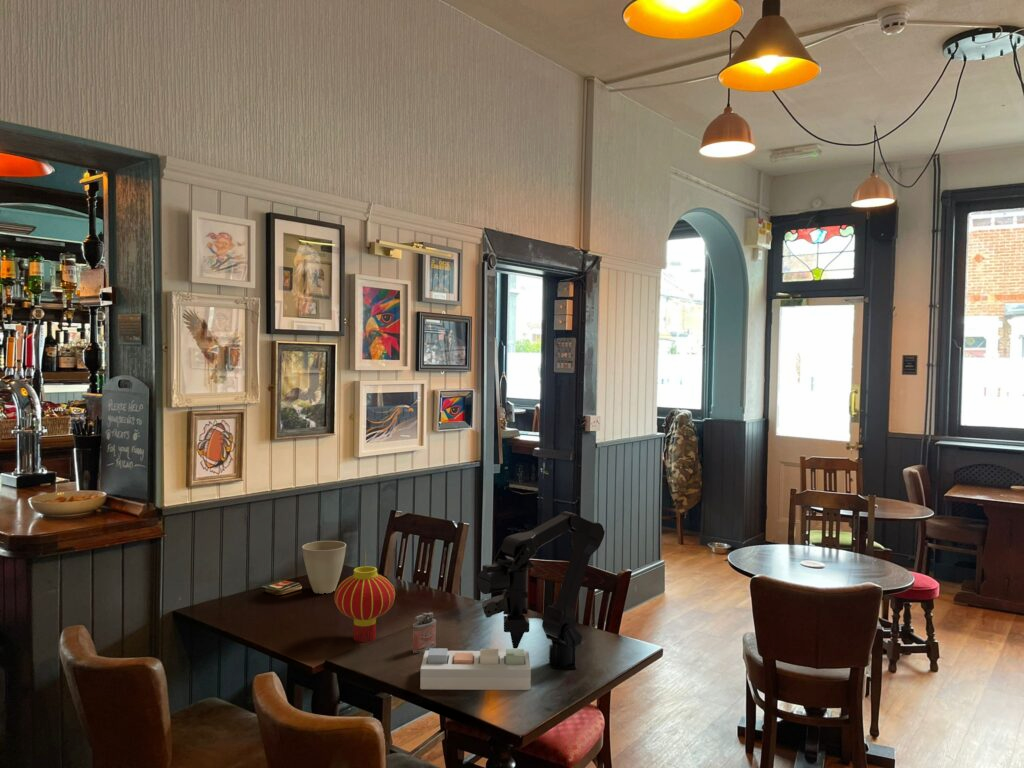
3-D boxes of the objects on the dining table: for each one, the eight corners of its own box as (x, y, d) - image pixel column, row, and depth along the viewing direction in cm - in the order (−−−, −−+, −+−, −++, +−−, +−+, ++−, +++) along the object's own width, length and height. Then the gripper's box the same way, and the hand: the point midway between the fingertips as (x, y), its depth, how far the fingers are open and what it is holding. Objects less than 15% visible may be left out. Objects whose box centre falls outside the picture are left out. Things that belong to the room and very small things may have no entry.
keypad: (528, 670, 197) (528, 651, 197) (530, 690, 185) (530, 669, 185) (424, 669, 197) (425, 650, 197) (420, 689, 185) (420, 669, 185)
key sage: (523, 658, 193) (523, 649, 193) (524, 665, 189) (524, 655, 189) (505, 658, 193) (505, 648, 193) (505, 665, 189) (506, 655, 189)
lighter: (430, 643, 215) (430, 608, 215) (438, 646, 213) (439, 611, 212) (409, 651, 209) (409, 615, 208) (417, 654, 206) (418, 618, 206)
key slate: (447, 658, 193) (447, 648, 193) (446, 665, 188) (446, 655, 188) (429, 657, 193) (429, 648, 193) (427, 665, 188) (428, 655, 188)
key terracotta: (472, 662, 193) (472, 652, 193) (472, 669, 189) (472, 660, 188) (454, 662, 193) (454, 652, 193) (453, 669, 188) (454, 659, 188)
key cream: (498, 658, 193) (498, 648, 193) (498, 665, 189) (498, 655, 189) (480, 658, 193) (480, 648, 193) (479, 665, 189) (480, 655, 189)
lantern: (404, 631, 224) (405, 531, 224) (378, 652, 208) (379, 544, 207) (352, 625, 229) (353, 526, 228) (323, 645, 212) (324, 539, 211)
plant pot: (348, 584, 271) (349, 540, 270) (342, 597, 256) (342, 550, 255) (306, 584, 270) (307, 540, 269) (297, 597, 255) (297, 550, 254)
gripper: (484, 576, 200) (483, 634, 200) (483, 598, 181) (482, 662, 182) (526, 576, 200) (525, 634, 200) (529, 598, 181) (528, 662, 182)
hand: (515, 647), depth 191 cm, fingers closed
